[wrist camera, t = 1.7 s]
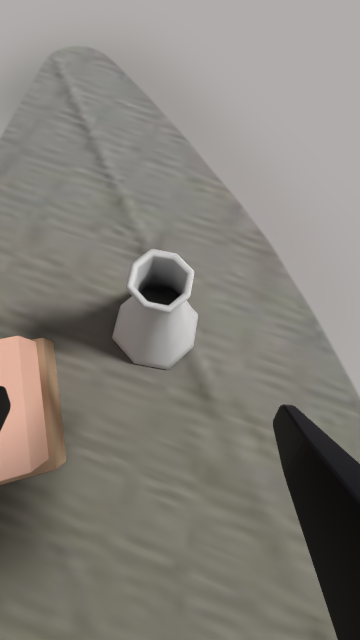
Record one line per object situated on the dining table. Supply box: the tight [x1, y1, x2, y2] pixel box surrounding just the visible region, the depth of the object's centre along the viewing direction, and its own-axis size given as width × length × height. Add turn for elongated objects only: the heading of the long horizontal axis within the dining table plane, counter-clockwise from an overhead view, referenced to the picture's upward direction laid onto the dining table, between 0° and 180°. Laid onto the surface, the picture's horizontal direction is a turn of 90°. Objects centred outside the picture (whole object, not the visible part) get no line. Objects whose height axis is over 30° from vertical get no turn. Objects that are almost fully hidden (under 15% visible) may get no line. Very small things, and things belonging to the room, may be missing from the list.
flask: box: [112, 249, 198, 370], centre depth 16 cm, size 7×7×10 cm
